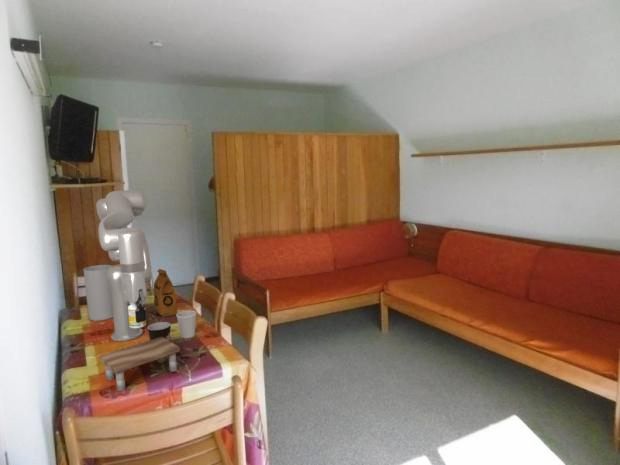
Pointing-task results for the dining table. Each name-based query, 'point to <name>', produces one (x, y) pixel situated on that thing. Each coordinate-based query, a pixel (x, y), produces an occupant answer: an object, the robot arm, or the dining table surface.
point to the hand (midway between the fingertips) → (137, 318)
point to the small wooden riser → (138, 358)
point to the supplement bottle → (134, 317)
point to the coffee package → (164, 295)
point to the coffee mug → (159, 330)
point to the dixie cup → (187, 323)
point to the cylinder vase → (98, 293)
